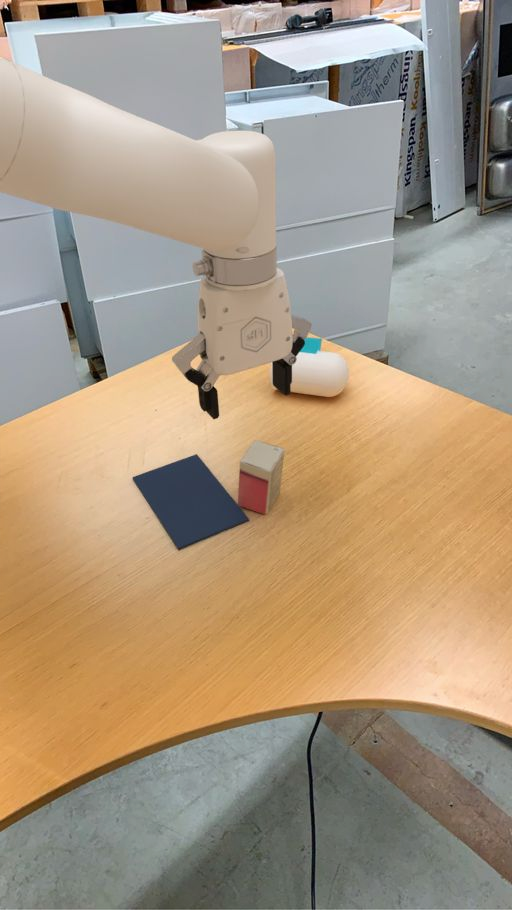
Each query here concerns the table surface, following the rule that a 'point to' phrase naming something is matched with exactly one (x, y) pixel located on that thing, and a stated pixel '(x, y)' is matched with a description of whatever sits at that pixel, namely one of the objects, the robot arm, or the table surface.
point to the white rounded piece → (317, 371)
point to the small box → (260, 476)
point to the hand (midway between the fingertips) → (247, 401)
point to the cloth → (189, 501)
